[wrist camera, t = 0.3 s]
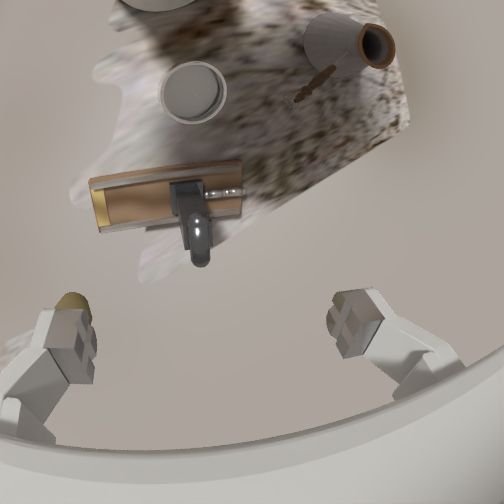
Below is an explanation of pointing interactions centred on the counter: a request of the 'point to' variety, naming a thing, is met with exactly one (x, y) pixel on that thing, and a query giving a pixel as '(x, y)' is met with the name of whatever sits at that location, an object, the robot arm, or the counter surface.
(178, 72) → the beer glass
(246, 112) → the counter surface
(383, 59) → the coffee pot
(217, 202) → the track
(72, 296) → the squeeze bottle
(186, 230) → the handle
